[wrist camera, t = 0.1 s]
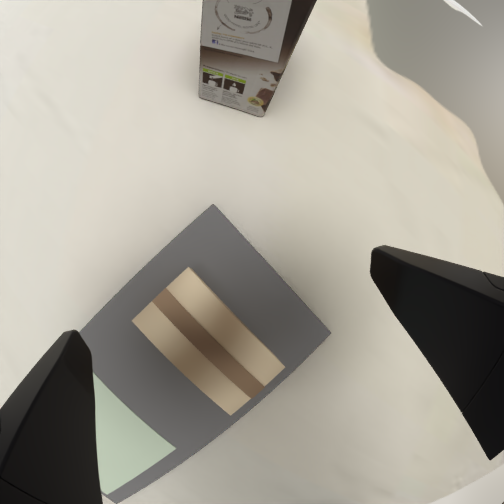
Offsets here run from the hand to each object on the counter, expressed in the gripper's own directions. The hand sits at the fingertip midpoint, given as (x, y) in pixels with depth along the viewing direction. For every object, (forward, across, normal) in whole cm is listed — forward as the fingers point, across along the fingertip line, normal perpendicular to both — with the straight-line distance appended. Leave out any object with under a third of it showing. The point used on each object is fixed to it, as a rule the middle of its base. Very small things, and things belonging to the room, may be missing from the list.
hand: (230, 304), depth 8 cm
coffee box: (+22, -7, -7) cm, 25 cm away
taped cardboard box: (+10, +2, +10) cm, 15 cm away
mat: (+9, +8, +14) cm, 18 cm away
